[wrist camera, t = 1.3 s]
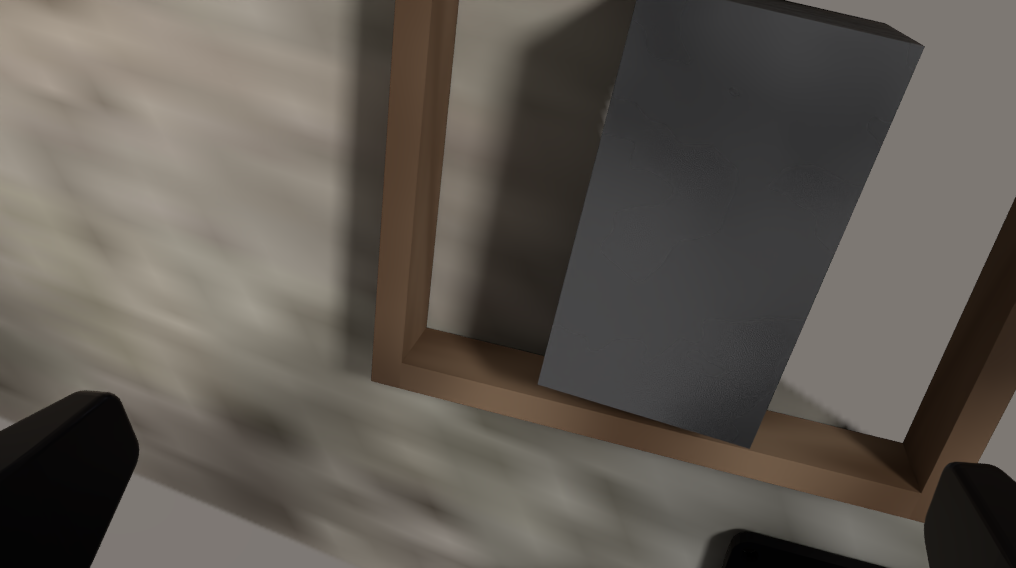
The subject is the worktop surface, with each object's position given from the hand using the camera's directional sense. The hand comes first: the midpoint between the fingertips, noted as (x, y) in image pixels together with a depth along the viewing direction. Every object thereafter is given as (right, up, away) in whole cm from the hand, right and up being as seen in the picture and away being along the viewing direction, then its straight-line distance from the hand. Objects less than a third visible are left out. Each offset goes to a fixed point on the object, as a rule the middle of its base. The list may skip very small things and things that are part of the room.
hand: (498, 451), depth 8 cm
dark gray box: (+5, +4, +10) cm, 12 cm away
